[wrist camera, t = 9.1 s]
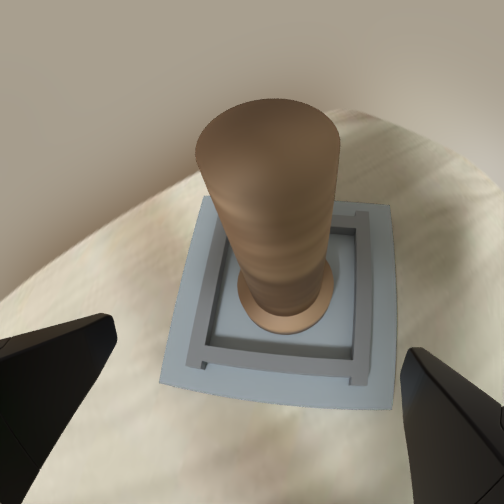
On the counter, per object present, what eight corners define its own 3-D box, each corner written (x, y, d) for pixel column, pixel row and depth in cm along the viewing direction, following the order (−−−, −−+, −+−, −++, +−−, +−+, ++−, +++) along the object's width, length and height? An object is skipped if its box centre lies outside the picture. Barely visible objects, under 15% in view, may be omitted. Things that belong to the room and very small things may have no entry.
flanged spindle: (349, 291, 20) (403, 143, 8) (282, 354, 18) (253, 269, 7) (289, 234, 22) (272, 71, 11) (223, 288, 21) (141, 148, 10)
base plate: (386, 409, 17) (408, 410, 13) (165, 384, 19) (137, 378, 16) (386, 213, 23) (398, 180, 20) (207, 204, 26) (193, 171, 22)
